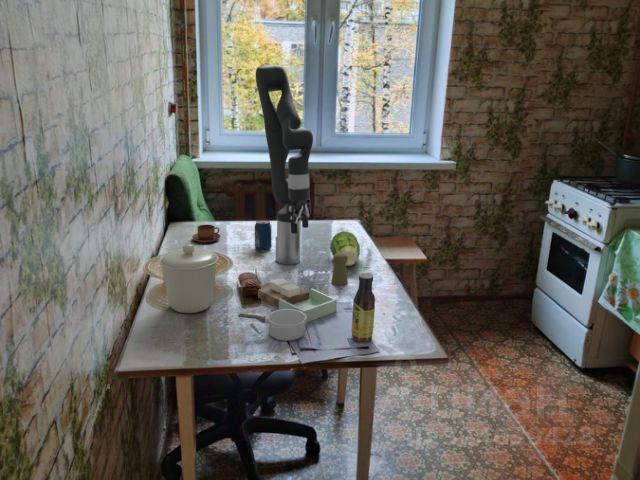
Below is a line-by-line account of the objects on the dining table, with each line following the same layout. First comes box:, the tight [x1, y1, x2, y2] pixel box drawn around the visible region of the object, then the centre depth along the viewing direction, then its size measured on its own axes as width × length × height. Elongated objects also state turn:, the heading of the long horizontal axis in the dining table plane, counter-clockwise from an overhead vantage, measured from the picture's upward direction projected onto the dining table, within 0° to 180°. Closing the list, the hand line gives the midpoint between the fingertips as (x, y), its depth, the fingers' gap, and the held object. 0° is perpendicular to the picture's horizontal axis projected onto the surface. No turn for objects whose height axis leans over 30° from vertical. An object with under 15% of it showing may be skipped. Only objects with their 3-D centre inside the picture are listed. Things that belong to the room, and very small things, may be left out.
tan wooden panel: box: [258, 282, 310, 310], centre depth 192 cm, size 15×12×3 cm
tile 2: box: [280, 282, 301, 297], centre depth 188 cm, size 4×4×2 cm
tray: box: [278, 288, 338, 324], centre depth 183 cm, size 12×14×4 cm
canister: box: [158, 243, 219, 314], centre depth 181 cm, size 18×18×21 cm
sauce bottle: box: [351, 272, 376, 343], centre depth 163 cm, size 7×6×20 cm
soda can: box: [254, 219, 272, 252], centre depth 239 cm, size 7×7×12 cm
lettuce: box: [329, 231, 361, 267], centre depth 225 cm, size 12×21×11 cm, turn 5°
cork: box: [330, 253, 349, 287], centre depth 205 cm, size 6×6×11 cm
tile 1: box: [270, 278, 290, 292], centre depth 192 cm, size 4×4×2 cm
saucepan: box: [237, 309, 307, 342], centre depth 167 cm, size 12×20×6 cm, turn 86°
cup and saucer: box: [191, 224, 221, 243], centre depth 249 cm, size 12×12×6 cm
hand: (299, 230), depth 207 cm, fingers open, 8 cm apart
